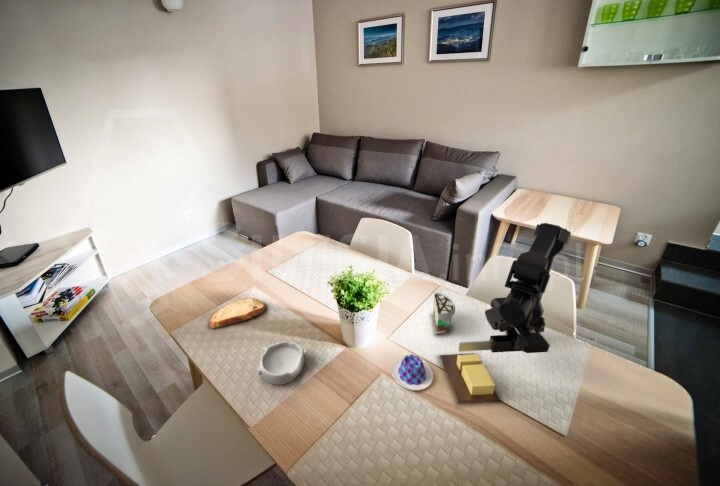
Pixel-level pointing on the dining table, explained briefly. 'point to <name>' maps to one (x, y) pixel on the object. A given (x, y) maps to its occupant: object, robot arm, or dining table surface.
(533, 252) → the robot arm
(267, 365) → the dish
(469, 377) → the butter block
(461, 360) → the butter slice
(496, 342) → the knife
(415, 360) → the pudding
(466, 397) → the butter board
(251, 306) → the bread slice
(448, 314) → the cake slice
